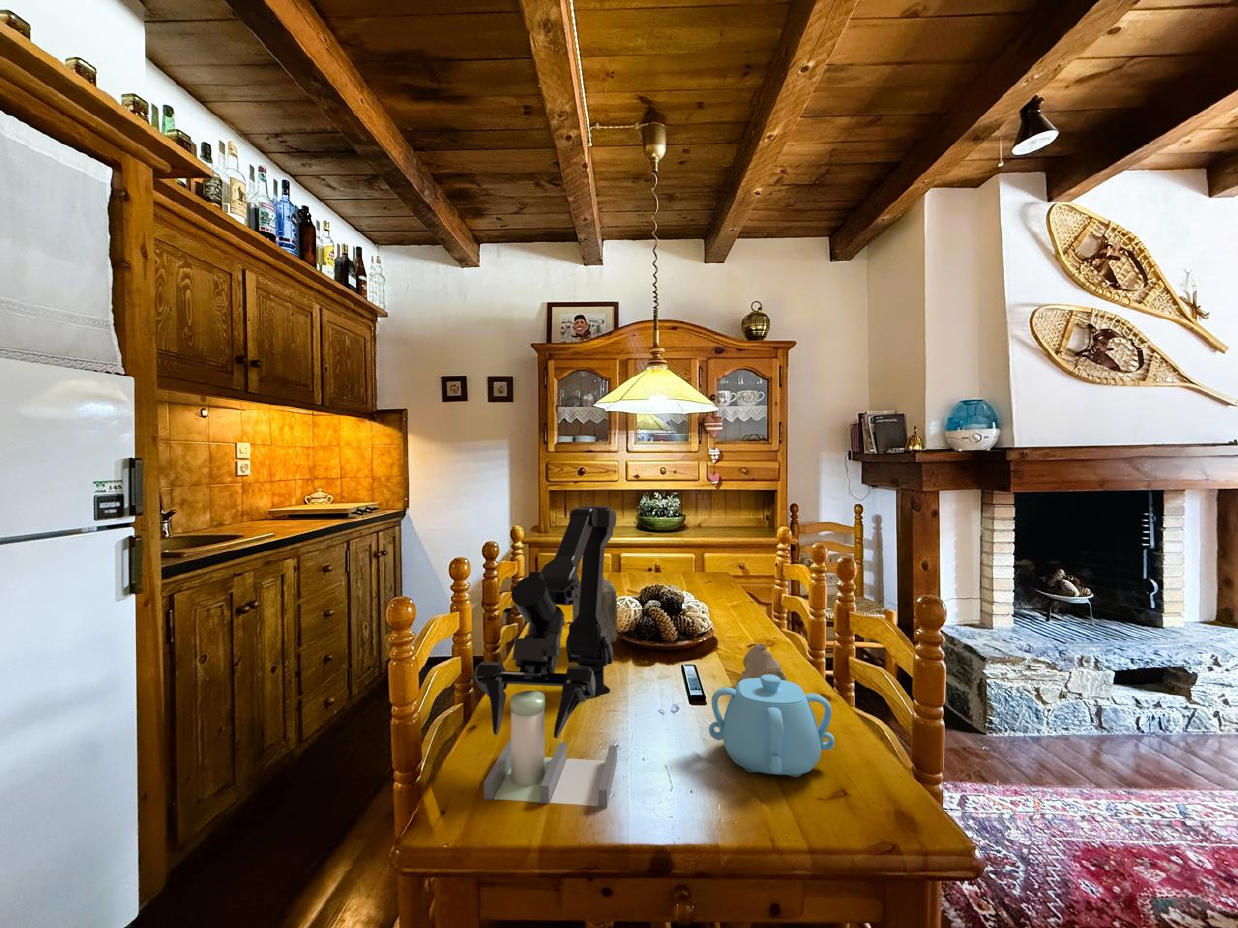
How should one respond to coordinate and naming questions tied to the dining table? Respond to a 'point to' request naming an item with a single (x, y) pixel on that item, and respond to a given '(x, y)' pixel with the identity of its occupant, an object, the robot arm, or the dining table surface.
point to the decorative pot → (771, 726)
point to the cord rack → (574, 786)
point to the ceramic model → (760, 664)
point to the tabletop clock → (605, 608)
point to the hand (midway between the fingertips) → (525, 735)
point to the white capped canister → (527, 738)
